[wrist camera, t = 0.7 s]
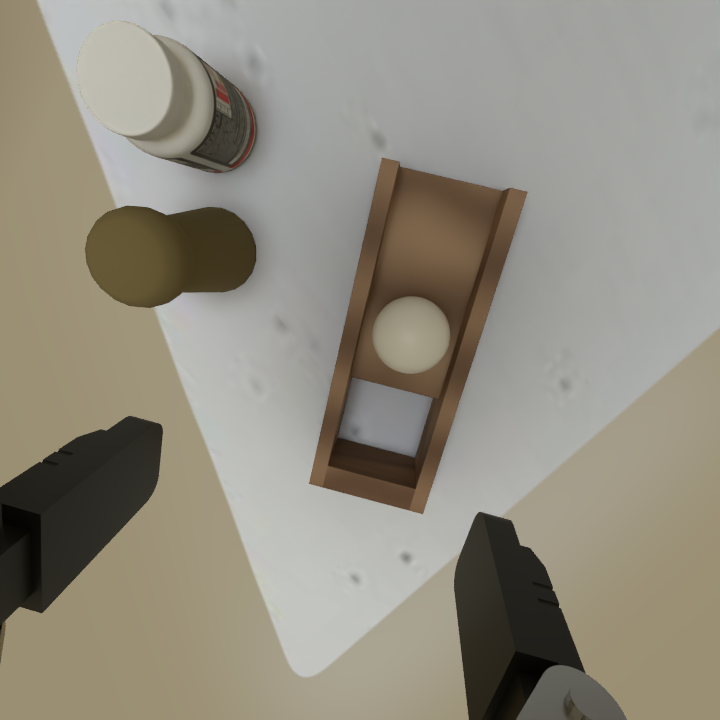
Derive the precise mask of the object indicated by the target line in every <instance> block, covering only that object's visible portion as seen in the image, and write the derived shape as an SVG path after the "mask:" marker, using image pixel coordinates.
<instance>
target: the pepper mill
mask: <svg viewBox="0 0 720 720" xmlns="http://www.w3.org/2000/svg"><path fill="white" fill-rule="evenodd" d="M85 253H86V262H87V265H88V268H89V270H90V273H91V275H92V277H93V279H94V280H95V281H96V283H97V284H98V285H99V287H100V288H101V289H102V290H104V291H105V292H106V293H107V294H109V295H110V296H111V297H112V298H114V299H115V300H117V301H119V302H121V303H124V304H126V305H129V306H135V307H146V308H151V307H155V306H159V305H163V304H166V303H169V302H170V301H172V300H173V299H175V298H176V297H177V296H179V295H180V294H181V293H182V292H226V291H230V290H234V289H236V288H238V287H239V286H240V285H242V284H243V283H245V282H246V280H247V279H248V278H249V276H250V275H251V273H252V271H253V268H254V265H255V262H256V246H255V242H254V239H253V236H252V233H251V232H250V230H249V229H248V227H247V225H246V224H245V222H244V221H242V220H241V219H240V218H239V217H238V216H237V215H235V214H234V213H232V212H230V211H227V210H225V209H223V208H215V207H206V208H201V209H196V210H191V211H186V212H181V213H176V214H171V215H165V214H163V213H161V212H158V211H156V210H153V209H151V208H148V207H138V206H124V207H121V208H118V209H115V210H112V211H109V212H107V213H105V214H104V215H103V216H102V217H100V218H99V219H98V220H97V221H96V222H95V224H94V226H93V227H92V229H91V231H90V233H89V235H88V236H87V242H86V247H85Z"/></svg>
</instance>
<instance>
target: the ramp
mask: <svg viewBox="0 0 720 720" xmlns="http://www.w3.org/2000/svg"><path fill="white" fill-rule="evenodd" d="M526 195H527V192H526V191H522V190H517V189H513V188H508V189H506V190H504V191H501V190H497V189H492V188H488V187H484V186H480V185H475V184H471V183H467V182H463V181H458V180H454V179H450V178H446V177H441V176H437V175H433V174H429V173H424V172H420V171H416V170H412V169H407V168H403V167H400V163H399V162H398V161H394V160H390V159H386V158H382V161H381V165H380V170H379V174H378V179H377V183H376V188H375V192H374V197H373V201H372V205H371V210H370V214H369V219H368V223H367V228H366V232H365V237H364V241H363V246H362V250H361V255H360V259H359V263H358V268H357V272H356V277H355V281H354V286H353V290H352V295H351V299H350V304H349V308H348V313H347V317H346V321H345V326H344V330H343V335H342V339H341V344H340V348H339V353H338V357H337V362H336V366H335V371H334V375H333V379H332V384H331V388H330V393H329V397H328V402H327V406H326V411H325V415H324V420H323V424H322V429H321V433H320V438H319V442H318V446H317V451H316V455H315V460H314V464H313V469H312V473H311V478H310V482H309V484H312V485H316V486H320V487H323V488H327V489H331V490H335V491H338V492H342V493H346V494H350V495H353V496H357V497H361V498H365V499H368V500H372V501H376V502H380V503H383V504H387V505H391V506H394V507H398V508H402V509H406V510H409V511H413V512H417V513H421V514H423V512H424V509H425V506H426V503H427V500H428V496H429V493H430V490H431V487H432V484H433V481H434V478H435V475H436V472H437V469H438V466H439V463H440V460H441V456H442V453H443V450H444V447H445V444H446V441H447V438H448V435H449V432H450V429H451V426H452V423H453V420H454V417H455V413H456V410H457V407H458V404H459V401H460V398H461V395H462V392H463V389H464V386H465V383H466V380H467V377H468V373H469V370H470V367H471V364H472V361H473V358H474V355H475V352H476V349H477V346H478V343H479V340H480V337H481V334H482V330H483V327H484V324H485V321H486V318H487V315H488V312H489V309H490V306H491V303H492V300H493V297H494V294H495V291H496V287H497V284H498V281H499V278H500V275H501V272H502V269H503V266H504V263H505V260H506V257H507V254H508V251H509V247H510V244H511V241H512V238H513V235H514V232H515V229H516V226H517V223H518V220H519V217H520V214H521V211H522V208H523V204H524V201H525V198H526ZM407 296H416V297H421V298H425V299H427V300H429V301H431V302H433V303H434V304H435V305H437V306H438V307H439V308H440V309H441V310H442V312H443V313H444V315H445V316H446V318H447V320H448V323H449V328H450V342H449V346H448V349H447V351H446V353H445V355H444V357H443V358H442V359H441V360H440V362H439V363H438V364H436V365H435V366H434V367H432V368H431V369H429V370H427V371H424V372H421V373H416V374H406V373H401V372H398V371H395V370H393V369H391V368H390V367H388V366H387V365H386V364H384V362H383V361H382V360H381V359H380V358H379V356H378V355H377V353H376V351H375V348H374V345H373V339H372V331H373V325H374V322H375V320H376V318H377V316H378V314H379V313H380V312H381V310H382V309H383V308H384V307H385V306H386V305H387V304H389V303H390V302H392V301H394V300H396V299H399V298H402V297H407ZM352 377H354V378H358V379H362V380H366V381H370V382H374V383H377V384H381V385H385V386H389V387H393V388H397V389H401V390H405V391H409V392H413V393H417V394H420V395H424V396H428V397H432V398H433V401H432V404H431V407H430V411H429V414H428V417H427V421H426V424H425V427H424V430H423V434H422V437H421V440H420V444H419V447H418V450H417V453H416V457H415V458H413V457H409V456H405V455H401V454H398V453H394V452H390V451H386V450H382V449H379V448H375V447H371V446H367V445H363V444H359V443H356V442H352V441H348V440H344V439H340V438H338V434H339V429H340V425H341V421H342V417H343V413H344V408H345V404H346V400H347V396H348V392H349V387H350V383H351V379H352Z"/></svg>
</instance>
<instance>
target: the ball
mask: <svg viewBox="0 0 720 720" xmlns="http://www.w3.org/2000/svg"><path fill="white" fill-rule="evenodd" d="M372 339H373V345H374V348H375V351H376V353H377V355H378V356H379V358H380V359H381V360H382V361H383V362H384V364H386V365H387V366H388V367H390V368H391V369H393V370H395V371H398V372H401V373H406V374H416V373H421V372H424V371H427V370H429V369H431V368H432V367H434V366H435V365H436V364H438V363H439V362H440V360H441V359H442V358H443V357H444V355H445V353H446V351H447V349H448V346H449V342H450V328H449V323H448V320H447V318H446V316H445V315H444V313H443V312H442V310H441V309H440V308H439V307H438V306H437V305H435V304H434V303H433V302H431V301H429V300H427V299H425V298H421V297H416V296H407V297H402V298H399V299H396V300H394V301H392V302H390V303H389V304H387V305H386V306H385V307H384V308H383V309H382V310H381V312H380V313H379V314H378V316H377V318H376V320H375V322H374V325H373V331H372Z"/></svg>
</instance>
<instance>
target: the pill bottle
mask: <svg viewBox="0 0 720 720" xmlns="http://www.w3.org/2000/svg"><path fill="white" fill-rule="evenodd" d="M77 79H78V85H79V89H80V93H81V95H82V98H83V100H84V102H85V104H86V106H87V108H88V109H89V111H90V112H91V114H92V115H93V116H94V117H95V118H96V119H97V120H98V121H99V122H100V123H101V124H102V125H103V126H105V127H106V128H107V129H109V130H111V131H113V132H115V133H117V134H119V135H122V136H125V137H126V138H127V139H128V140H129V141H130V142H131V143H132V144H133V145H135V146H136V147H137V148H139V149H140V150H142V151H144V152H146V153H148V154H150V155H153V156H155V157H158V158H162V159H165V160H169V161H172V162H176V163H179V164H183V165H186V166H190V167H193V168H197V169H200V170H203V171H207V172H214V173H220V172H226V171H229V170H232V169H234V168H236V167H237V166H239V165H240V164H241V163H242V162H243V161H244V160H245V159H246V158H247V156H248V155H249V153H250V151H251V149H252V146H253V143H254V139H255V120H254V115H253V112H252V109H251V107H250V105H249V103H248V101H247V99H246V98H245V96H244V95H243V94H242V93H241V92H240V90H239V89H238V88H237V87H235V86H234V85H233V84H232V83H230V82H229V81H228V80H227V79H225V78H224V77H223V76H222V75H220V74H219V73H218V72H217V71H215V70H214V69H213V68H212V67H211V66H209V65H208V64H207V63H206V62H204V61H203V60H202V59H201V58H200V57H198V56H197V55H196V54H194V53H193V52H192V51H191V50H189V49H188V48H187V47H186V46H184V45H182V44H180V43H179V42H177V41H175V40H173V39H170V38H167V37H164V36H159V35H152V34H151V33H149V32H148V31H146V30H145V29H143V28H141V27H140V26H138V25H135V24H133V23H129V22H124V21H112V22H108V23H105V24H102V25H101V26H99V27H97V28H96V29H95V30H93V31H92V32H91V33H90V34H89V36H88V37H87V38H86V40H85V41H84V43H83V45H82V47H81V50H80V52H79V56H78V62H77Z"/></svg>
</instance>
